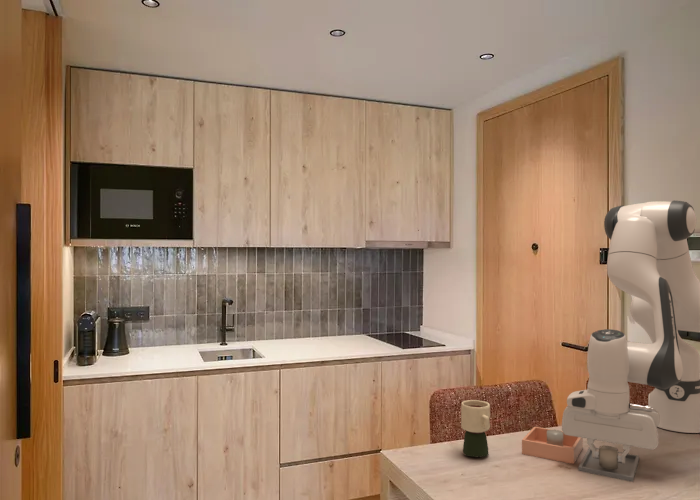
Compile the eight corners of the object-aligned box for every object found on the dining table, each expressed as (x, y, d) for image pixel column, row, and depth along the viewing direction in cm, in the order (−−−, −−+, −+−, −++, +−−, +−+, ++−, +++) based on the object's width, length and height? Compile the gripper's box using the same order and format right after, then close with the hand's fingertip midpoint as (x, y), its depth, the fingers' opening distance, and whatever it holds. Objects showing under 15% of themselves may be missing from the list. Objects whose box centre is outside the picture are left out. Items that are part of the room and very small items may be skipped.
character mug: (500, 461, 133) (500, 408, 133) (475, 465, 131) (475, 411, 131) (475, 446, 143) (475, 396, 143) (452, 449, 141) (451, 399, 141)
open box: (534, 441, 147) (534, 426, 147) (582, 450, 140) (582, 434, 140) (521, 455, 137) (521, 439, 137) (573, 466, 130) (573, 449, 130)
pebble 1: (548, 443, 143) (548, 428, 143) (564, 446, 141) (564, 431, 141) (545, 448, 140) (545, 433, 140) (561, 451, 138) (561, 435, 138)
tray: (589, 452, 139) (589, 446, 139) (639, 461, 133) (639, 455, 133) (578, 472, 126) (578, 466, 126) (632, 483, 120) (632, 477, 120)
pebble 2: (600, 461, 130) (600, 444, 130) (619, 464, 128) (619, 447, 128) (597, 467, 126) (597, 449, 126) (617, 470, 124) (616, 453, 124)
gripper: (660, 404, 124) (660, 464, 124) (565, 391, 135) (565, 447, 135) (658, 411, 119) (659, 474, 119) (559, 397, 130) (560, 455, 130)
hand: (608, 460), depth 127 cm, fingers closed on pebble 2, 4 cm apart
